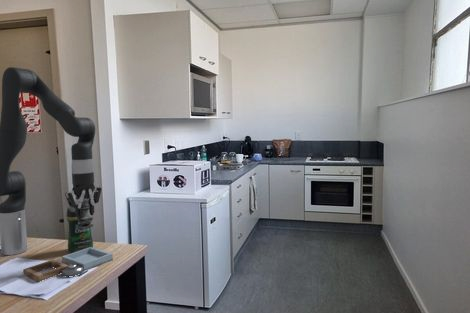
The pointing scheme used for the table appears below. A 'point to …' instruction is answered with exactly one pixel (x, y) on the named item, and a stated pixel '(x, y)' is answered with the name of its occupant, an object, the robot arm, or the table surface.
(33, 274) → the wooden square frame
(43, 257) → the table surface
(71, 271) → the grey knobbed lid
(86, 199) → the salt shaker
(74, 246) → the coffee jar
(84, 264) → the tray
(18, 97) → the robot arm
